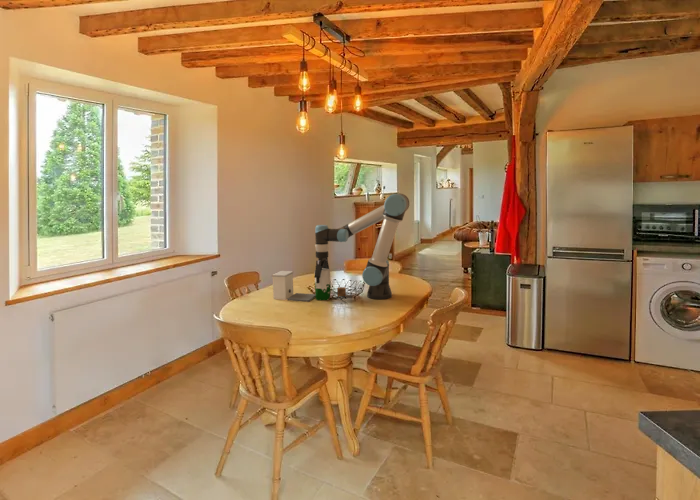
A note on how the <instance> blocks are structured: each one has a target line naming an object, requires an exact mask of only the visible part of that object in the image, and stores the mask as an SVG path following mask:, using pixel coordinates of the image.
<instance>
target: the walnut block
mask: <svg viewBox="0 0 700 500" xmlns="http://www.w3.org/2000/svg"><path fill="white" fill-rule="evenodd" d="M346 290H347V288H346V287H344V286H340V287H339V286H338V287H337V294H336V295H337V298H340V297H339V296H346V297H347V291H346Z"/></svg>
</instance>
